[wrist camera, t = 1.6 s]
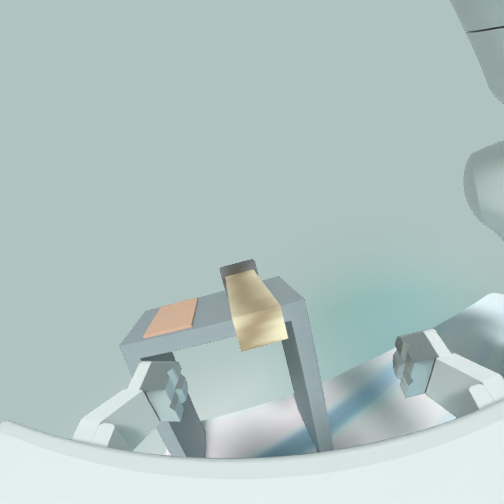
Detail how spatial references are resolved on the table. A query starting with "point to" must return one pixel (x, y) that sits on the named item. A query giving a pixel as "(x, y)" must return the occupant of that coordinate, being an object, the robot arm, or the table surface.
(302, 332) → the shelf stand
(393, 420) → the table surface
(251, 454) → the table surface
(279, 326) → the beech handle
